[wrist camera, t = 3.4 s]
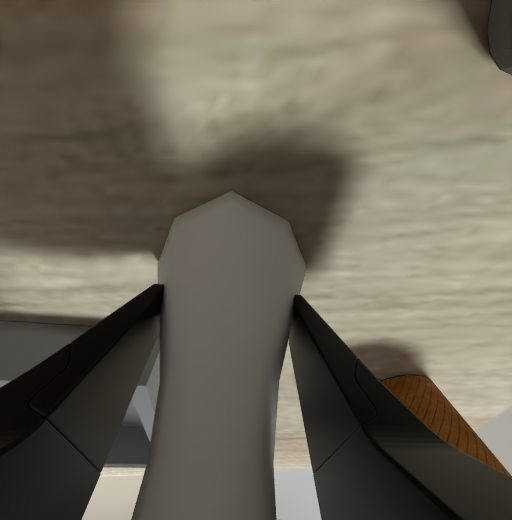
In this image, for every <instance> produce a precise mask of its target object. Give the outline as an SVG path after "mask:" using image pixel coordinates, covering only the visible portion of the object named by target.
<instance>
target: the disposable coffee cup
mask: <svg viewBox="0 0 512 520" xmlns="http://www.w3.org/2000/svg"><path fill="white" fill-rule="evenodd" d="M381 383H382V384H383V385H384V386H385V387H386V388H387V389H388V390H389V391H391V392H392V393H393V394H394V395H395V396H396V397H397V398H398V399H399V400H400V401H401V402H402V403H403V404H404V405H405V406H406V407H407V408H408V409H409V410H410V411H411V412H413V413H414V414H415V415H416V416H417V417H418V418H419V419H420V420H421V421H422V422H423V423H424V424H425V425H426V426H427V427H428V428H429V429H431V430H432V431H433V432H434V433H435V434H436V435H438V436H439V437H440V438H441V439H443V440H444V441H446V442H447V443H448V444H450V445H452V446H453V447H455V448H456V449H458V450H460V451H462V452H464V453H466V454H468V455H470V456H472V457H473V458H475V459H477V460H479V461H481V462H483V463H485V464H487V465H489V466H491V467H493V468H495V469H497V470H498V471H500V472H502V473H504V474H506V475H508V476H510V477H512V476H511V475H510V474H509V472H508V471H507V470H506V469H505V468H504V466H503V465H502V464H501V463H500V462H499V460H498V459H497V458H496V457H495V456H494V454H493V453H492V452H491V451H490V450H489V449H488V447H487V446H486V445H485V444H484V442H483V441H482V440H481V439H480V438H479V437H478V436H477V434H476V433H475V432H474V431H473V429H472V428H471V427H470V426H469V425H468V423H467V422H466V421H465V420H464V419H463V418H462V416H461V415H460V414H459V413H458V412H457V410H456V409H455V408H454V407H453V406H452V404H451V403H450V402H449V401H448V400H447V399H446V397H445V396H444V395H443V394H442V393H441V391H440V390H439V389H438V388H437V386H436V385H435V384H434V383H433V382H432V380H430V379H428V378H426V377H423V376H414V375H410V376H409V375H406V376H400V377H394V378H390V379H386V380H384V381H381Z"/></svg>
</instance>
